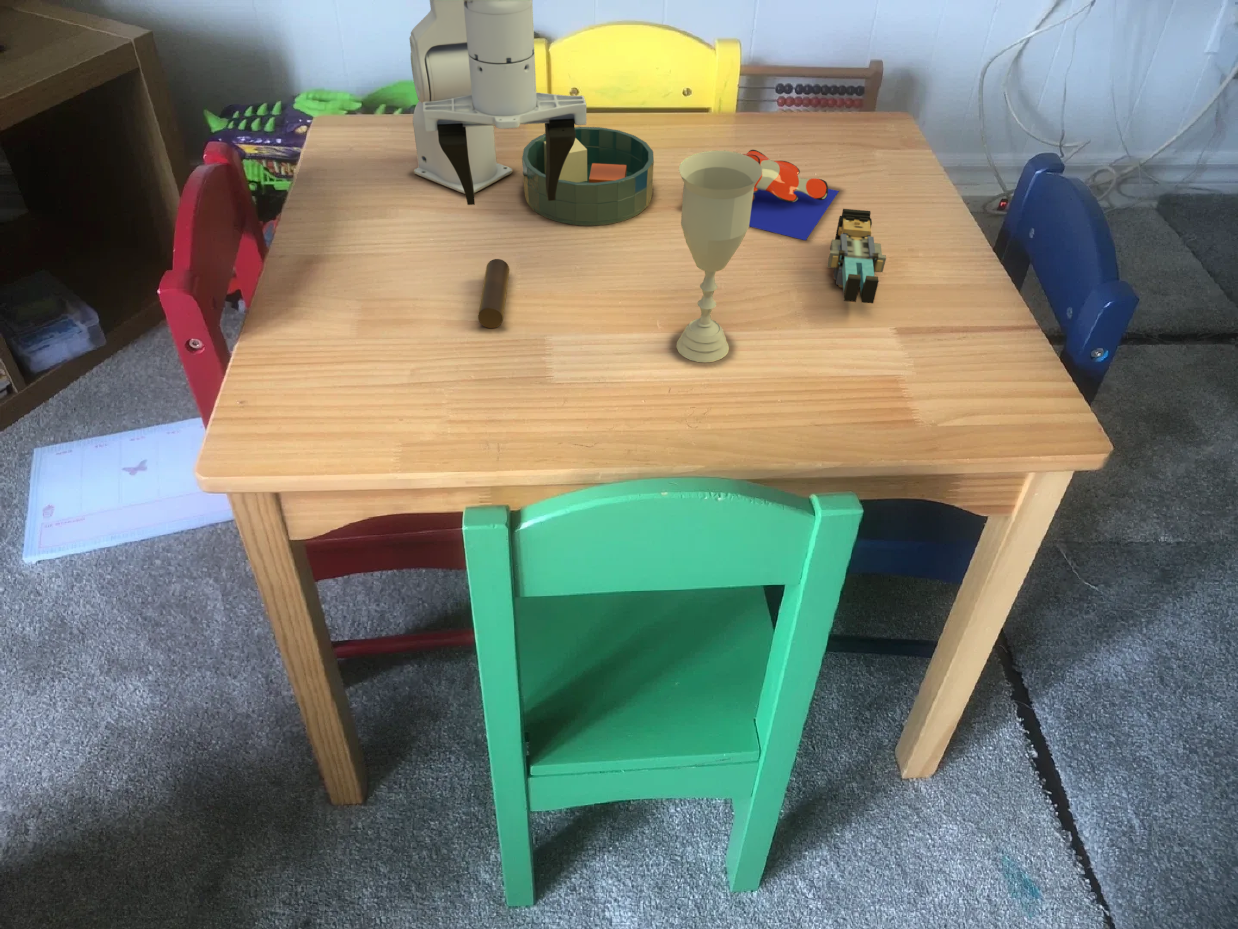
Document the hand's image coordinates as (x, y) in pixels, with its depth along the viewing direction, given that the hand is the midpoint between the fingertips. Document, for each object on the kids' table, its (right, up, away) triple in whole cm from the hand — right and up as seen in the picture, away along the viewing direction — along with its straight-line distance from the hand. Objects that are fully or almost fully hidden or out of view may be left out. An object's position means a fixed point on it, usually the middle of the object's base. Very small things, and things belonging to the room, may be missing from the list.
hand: (511, 197), depth 88 cm
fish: (+28, +6, +22) cm, 36 cm away
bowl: (+7, +7, +22) cm, 24 cm away
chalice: (+18, -15, 0) cm, 24 cm away
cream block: (+4, +9, +24) cm, 26 cm away
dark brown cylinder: (-2, -5, +7) cm, 9 cm away
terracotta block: (+9, +5, +19) cm, 22 cm away
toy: (+35, -6, +9) cm, 37 cm away
